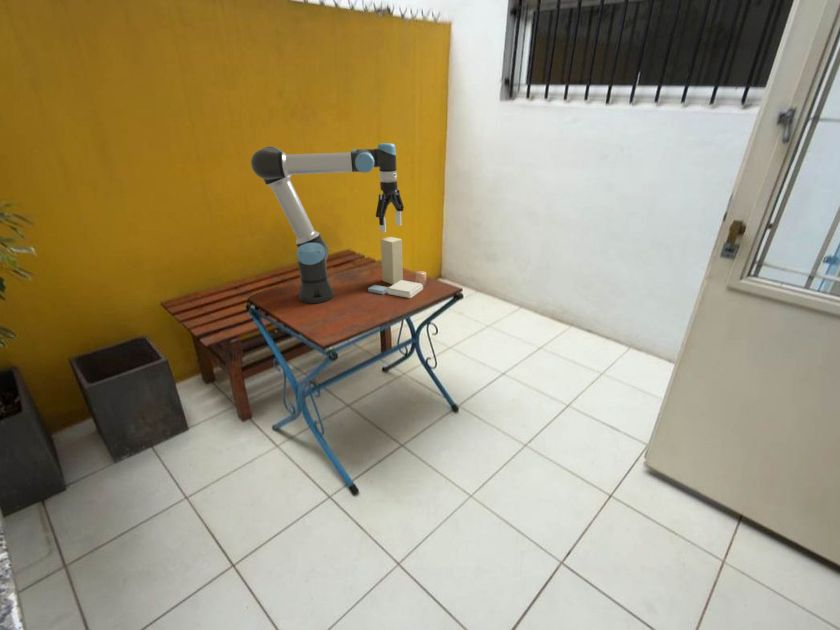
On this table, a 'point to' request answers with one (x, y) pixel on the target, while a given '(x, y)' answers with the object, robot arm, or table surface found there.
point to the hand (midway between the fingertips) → (391, 228)
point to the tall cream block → (391, 260)
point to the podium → (405, 289)
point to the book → (378, 289)
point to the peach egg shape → (421, 277)
